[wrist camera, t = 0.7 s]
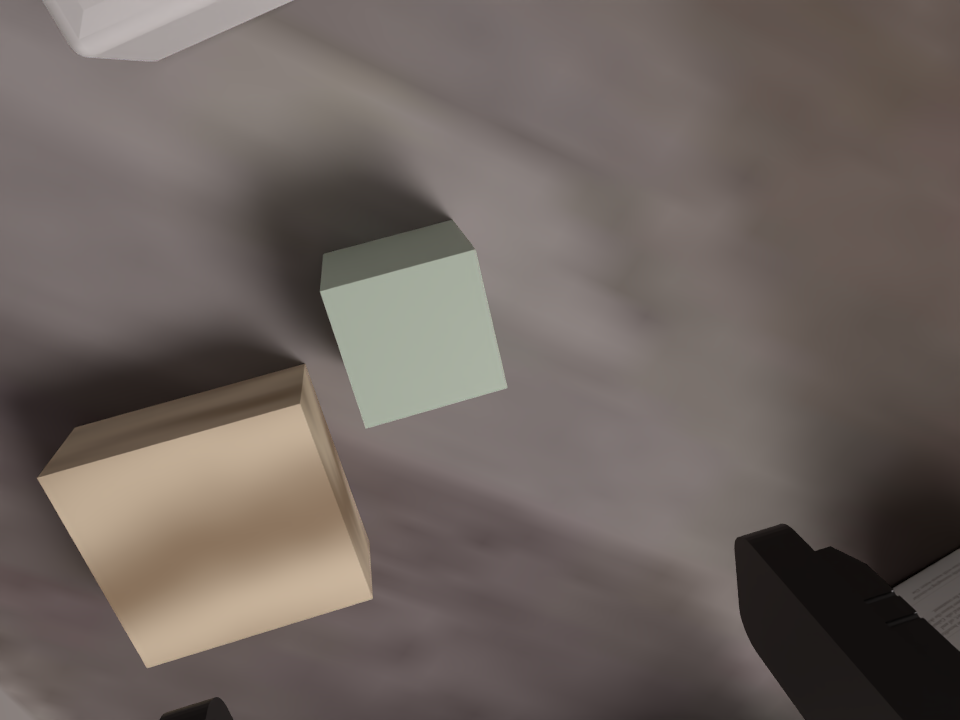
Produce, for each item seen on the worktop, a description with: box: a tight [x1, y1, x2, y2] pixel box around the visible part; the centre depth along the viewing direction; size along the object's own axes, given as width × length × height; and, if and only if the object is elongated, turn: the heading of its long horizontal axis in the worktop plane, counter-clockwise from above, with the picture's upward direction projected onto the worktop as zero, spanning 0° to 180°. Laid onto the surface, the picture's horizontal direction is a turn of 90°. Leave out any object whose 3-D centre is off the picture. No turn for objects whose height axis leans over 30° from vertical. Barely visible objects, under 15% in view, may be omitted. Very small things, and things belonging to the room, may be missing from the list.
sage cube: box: [320, 220, 507, 429], centre depth 25 cm, size 5×5×5 cm
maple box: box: [37, 364, 373, 668], centre depth 27 cm, size 9×9×4 cm
